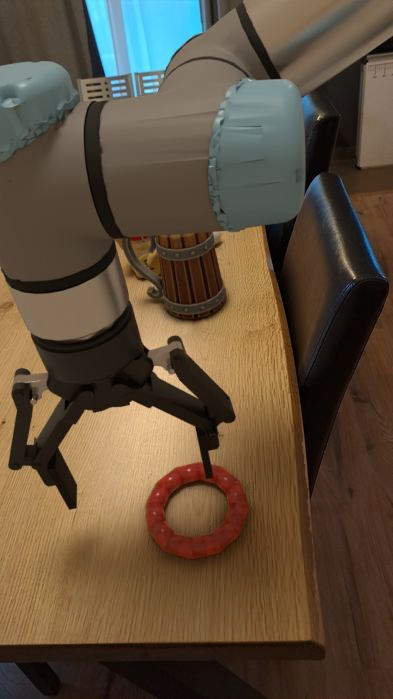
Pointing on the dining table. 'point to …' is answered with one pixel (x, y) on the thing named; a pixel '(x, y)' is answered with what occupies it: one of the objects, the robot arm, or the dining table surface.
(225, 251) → the dining table surface
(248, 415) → the dining table surface
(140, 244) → the figurine
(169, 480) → the ring
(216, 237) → the egg
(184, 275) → the mug
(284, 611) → the dining table surface
